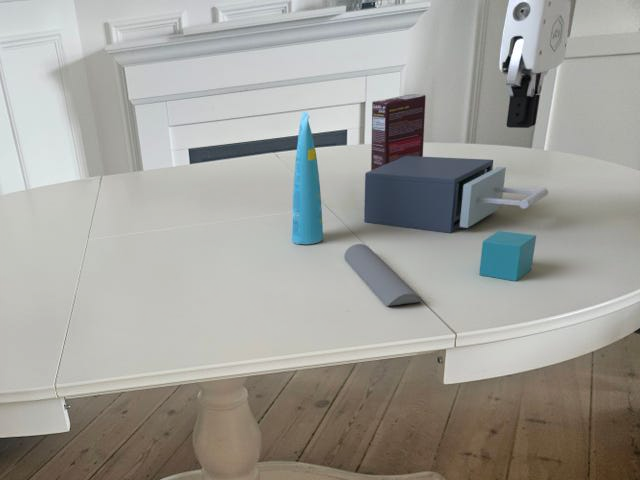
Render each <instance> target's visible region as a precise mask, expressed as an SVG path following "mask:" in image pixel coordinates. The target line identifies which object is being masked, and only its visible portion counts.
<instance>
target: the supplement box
mask: <svg viewBox="0 0 640 480" xmlns="http://www.w3.org/2000/svg"><path fill="white" fill-rule="evenodd" d="M426 96H427V95H426V94H416V93H415V94H405V95H401V96H396V97H391V98H386V99H380V100H375V101H374V100H373V101H371V107H372V108H371V109H372V110H371V153H370V154H371V158H370V159H371V162H370V171H371V170H374V169H376V168H378V167H381V166H383V165H385V164H388V163H390V162H393V161H395V160H397V159H400V158H402V157H405V156H420V157H424V139H425V116H426V100H427V99H426Z"/></svg>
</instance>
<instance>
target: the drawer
mask: <svg viewBox="0 0 640 480" xmlns="http://www.w3.org/2000/svg"><path fill="white" fill-rule="evenodd" d="M506 170H507V167H506V166H497V167H495V168H493V169H492V170H491V171H489V172H487V169H484V170H482V171H480V172H478V173H476V174H474V175H472V176H470V177H468V178H466V179H464V180H462V181H460V182H458V183H457V190H456V201H455V212H454V222H455V221H457V220H459V219H460V228H464V229H465V228H466V229H468V228H470V227H471V226H473V225H475V224H477V223H478V222H480V221H481V220H483V219H485V218H486V217H488V216H490V215H492V214H493V213H495V212H496V211H498V210H500V209H502V205H507V206H516V207H517V206H518V207H519V208H521V209H523V210H524V209H525V210H526V209H527V208H529V207H531V206H532V205H534V204H535V203H537V202H539V201H540V200H542V199H543V198H545V197H546V196H547V195H548V194H549V190H548V188H545V187H543V188H541V189H527V188H513V187H504V186H505V179H506ZM504 193H506V194H518V195H528V196H527V197H526V198H524V199H522V200H518V199H507V198H503V195H504Z"/></svg>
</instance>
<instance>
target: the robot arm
mask: <svg viewBox="0 0 640 480" xmlns="http://www.w3.org/2000/svg"><path fill="white" fill-rule="evenodd" d="M571 7H572V0H508V3H507V8H506V14H505V20H504V25H503V32H502V37H501V38H502V39H501V43H500V52H499V66H498V67H499V71H500V72H501V73H502V74H503V75H506V79H505V85H506V86H509V93H508V94H509V103H508V108H507V109H508V110H507V117H506V118H507V119H506V127H507V128H508V129H509V128H511V129H512V128H513V129H514V128H518V129H519V128H520V129H528V128H531V127H533V126H535V125H536V123H537V118H538V117H537V116H538V109H539V104H540V98H541V95H540V94H541V92H542V88H543V84H544V81H545V80H544V79H545V76H546V75H548V72H549V70H552V69H555V68H557V67H560V65H562V63H564V62H565V57H566V51H567V44H568V35H569V25H570V18H571Z"/></svg>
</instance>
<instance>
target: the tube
mask: <svg viewBox="0 0 640 480" xmlns="http://www.w3.org/2000/svg"><path fill="white" fill-rule="evenodd" d="M309 119H310V115H309V114H308V112H307V111H306V110H305V109H303V110H302V114H301V119H300V123H299V129H298V136H297V143H296V153H295V163H294V164H295V165H294V176H293V192H292V211H291V213H292V214H291V242H292V243H293V244H297V245H313V244H318V243H320V242H322V241H323V239H324V230H323V229H324V228H323V227H324V226H323V210H322V209H323V208H322V195H321V184H320V174H319V165H318V158H317V152H316V151H317V150H316V147H315V142H314V138H313V133H312V129H311V125H310V122H309Z"/></svg>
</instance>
